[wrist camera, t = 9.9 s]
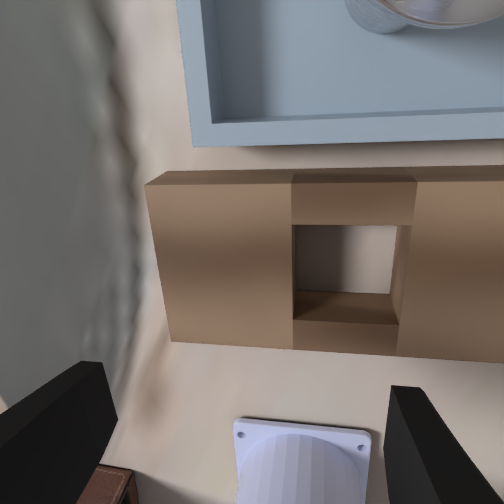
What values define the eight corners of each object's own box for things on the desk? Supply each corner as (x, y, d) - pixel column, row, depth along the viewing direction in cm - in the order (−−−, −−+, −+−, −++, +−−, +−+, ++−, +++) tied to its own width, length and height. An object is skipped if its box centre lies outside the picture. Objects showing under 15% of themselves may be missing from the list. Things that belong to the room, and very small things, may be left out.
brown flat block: (517, 329, 17) (546, 365, 15) (187, 312, 20) (171, 341, 18) (565, 164, 14) (610, 179, 12) (167, 171, 17) (143, 185, 15)
